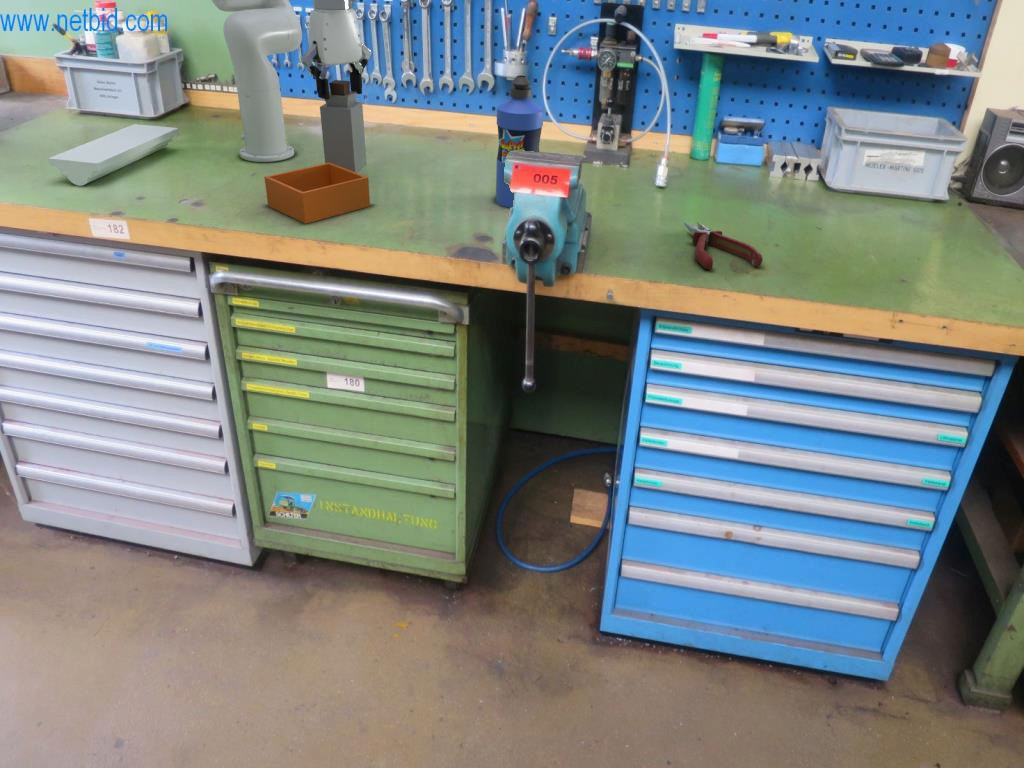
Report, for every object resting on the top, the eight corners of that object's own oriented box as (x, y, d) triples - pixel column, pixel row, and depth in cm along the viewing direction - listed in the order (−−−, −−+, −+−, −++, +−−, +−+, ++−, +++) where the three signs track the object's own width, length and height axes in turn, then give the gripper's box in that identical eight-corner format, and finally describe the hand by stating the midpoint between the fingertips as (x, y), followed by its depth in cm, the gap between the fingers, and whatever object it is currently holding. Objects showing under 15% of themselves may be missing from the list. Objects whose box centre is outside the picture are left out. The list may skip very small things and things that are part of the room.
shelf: (182, 150, 190) (178, 128, 188) (103, 188, 165) (97, 163, 163) (139, 146, 192) (134, 124, 189) (55, 183, 167) (48, 158, 164)
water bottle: (507, 191, 172) (510, 69, 159) (546, 198, 169) (552, 75, 156) (487, 203, 165) (489, 77, 152) (527, 211, 162) (533, 83, 148)
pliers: (717, 227, 157) (719, 215, 156) (764, 268, 140) (767, 254, 139) (662, 230, 155) (664, 217, 154) (703, 272, 138) (706, 258, 137)
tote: (268, 206, 160) (264, 176, 156) (332, 190, 169) (329, 162, 166) (305, 223, 152) (302, 193, 149) (370, 206, 161) (368, 177, 158)
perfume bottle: (355, 173, 170) (348, 86, 160) (325, 171, 171) (317, 84, 162) (366, 165, 176) (360, 80, 166) (337, 162, 177) (330, 77, 167)
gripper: (357, -2, 164) (363, 87, 173) (283, 3, 153) (294, 98, 162) (380, 2, 159) (384, 93, 168) (305, 7, 148) (315, 104, 158)
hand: (340, 95), depth 165 cm, fingers closed on perfume bottle, 7 cm apart
